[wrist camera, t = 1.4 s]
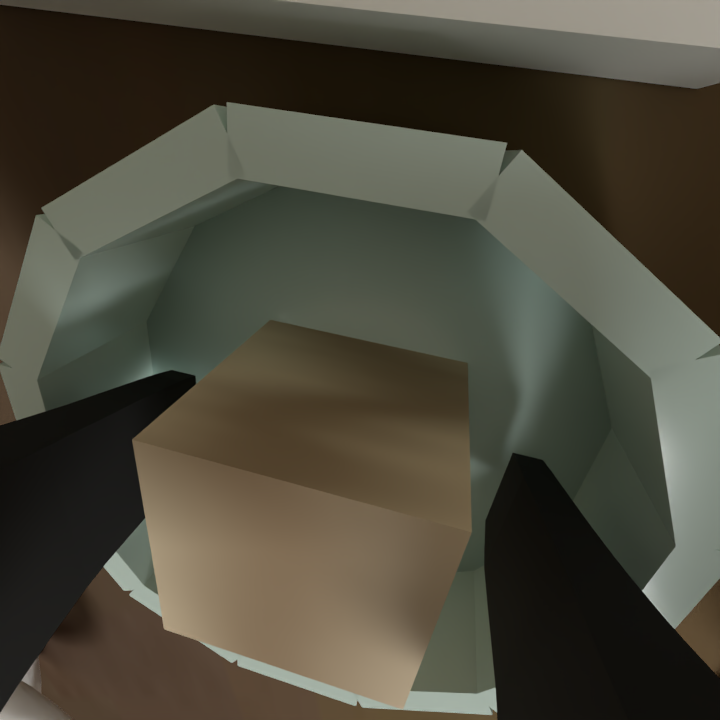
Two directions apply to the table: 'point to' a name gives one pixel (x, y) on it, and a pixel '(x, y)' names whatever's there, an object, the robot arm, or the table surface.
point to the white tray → (467, 30)
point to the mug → (31, 700)
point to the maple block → (312, 505)
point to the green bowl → (393, 331)
